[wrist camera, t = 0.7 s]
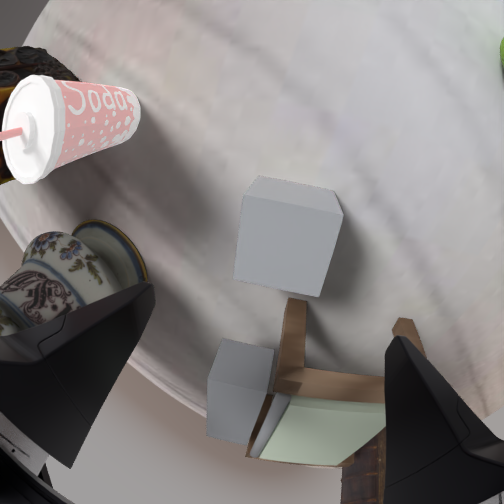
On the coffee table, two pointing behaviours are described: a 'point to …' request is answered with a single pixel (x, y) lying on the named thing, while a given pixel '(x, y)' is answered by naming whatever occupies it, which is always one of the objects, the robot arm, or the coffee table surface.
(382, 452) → the book
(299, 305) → the walnut frame
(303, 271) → the slate grey block
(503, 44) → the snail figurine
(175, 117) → the coffee table surface
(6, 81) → the candle
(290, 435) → the trapdoor
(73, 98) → the beverage cup
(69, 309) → the apothecary jar
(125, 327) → the robot arm
